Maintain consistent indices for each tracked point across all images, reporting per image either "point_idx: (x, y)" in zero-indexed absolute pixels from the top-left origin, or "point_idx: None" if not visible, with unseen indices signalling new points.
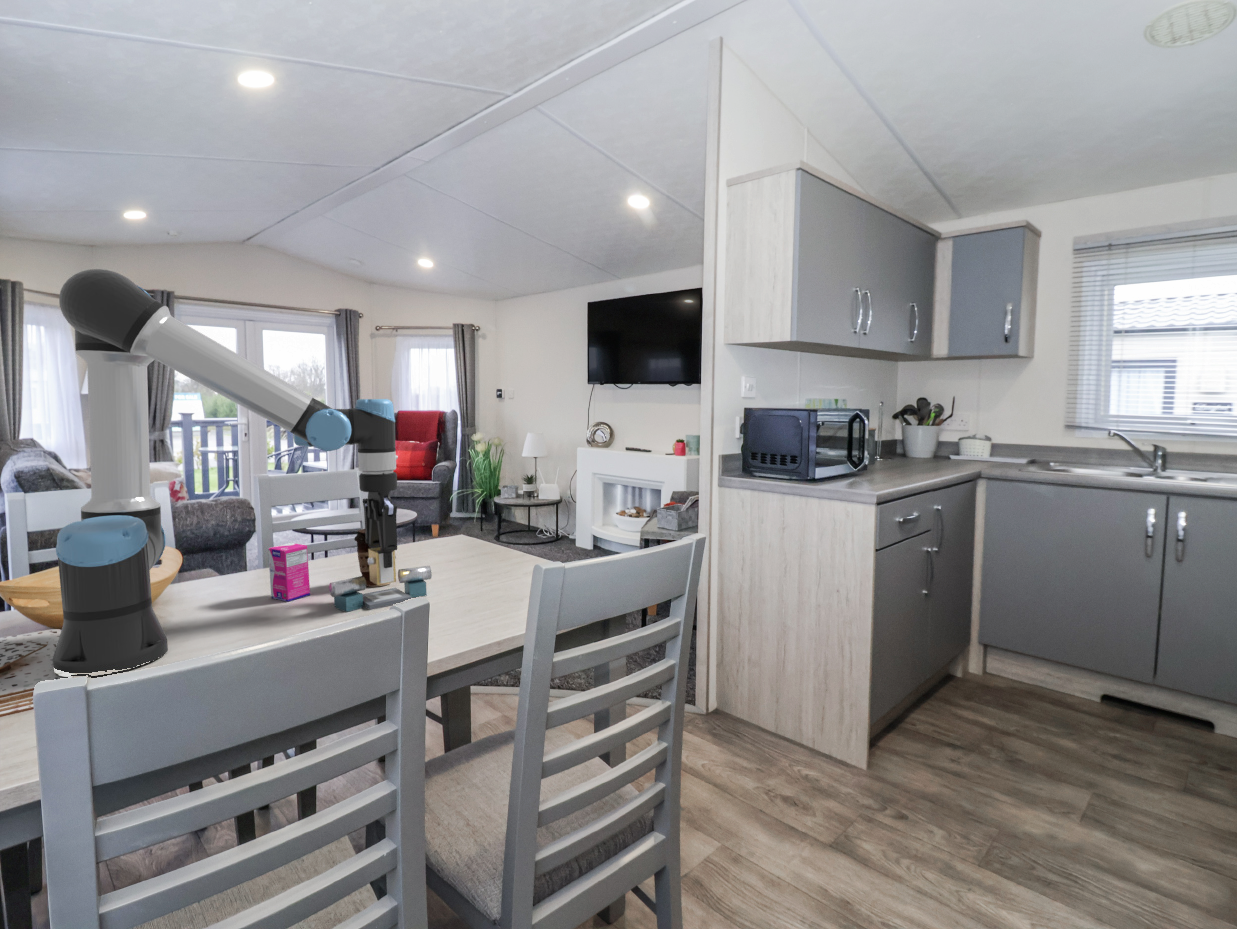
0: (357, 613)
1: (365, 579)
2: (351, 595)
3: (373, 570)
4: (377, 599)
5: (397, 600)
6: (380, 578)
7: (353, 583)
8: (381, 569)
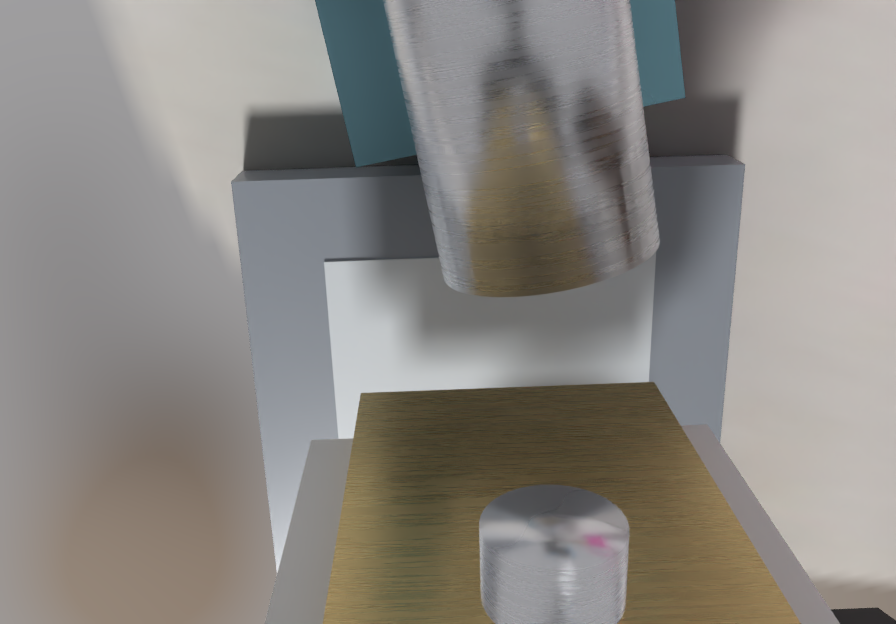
0: (196, 20)
1: None
2: (359, 14)
3: (506, 485)
4: (391, 317)
5: (267, 470)
6: (324, 475)
7: (418, 82)
8: (281, 578)
